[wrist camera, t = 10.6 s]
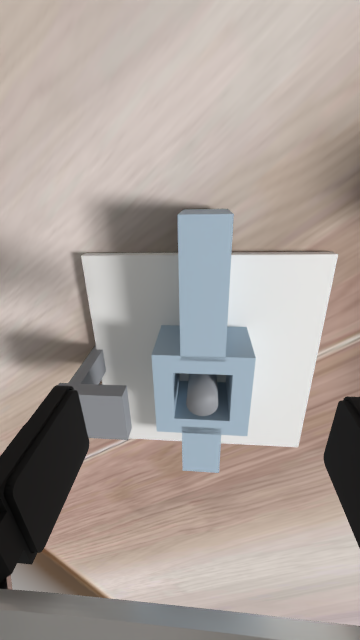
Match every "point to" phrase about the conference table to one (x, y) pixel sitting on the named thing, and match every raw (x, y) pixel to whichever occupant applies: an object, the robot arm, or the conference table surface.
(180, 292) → the link
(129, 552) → the conference table surface
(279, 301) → the board
